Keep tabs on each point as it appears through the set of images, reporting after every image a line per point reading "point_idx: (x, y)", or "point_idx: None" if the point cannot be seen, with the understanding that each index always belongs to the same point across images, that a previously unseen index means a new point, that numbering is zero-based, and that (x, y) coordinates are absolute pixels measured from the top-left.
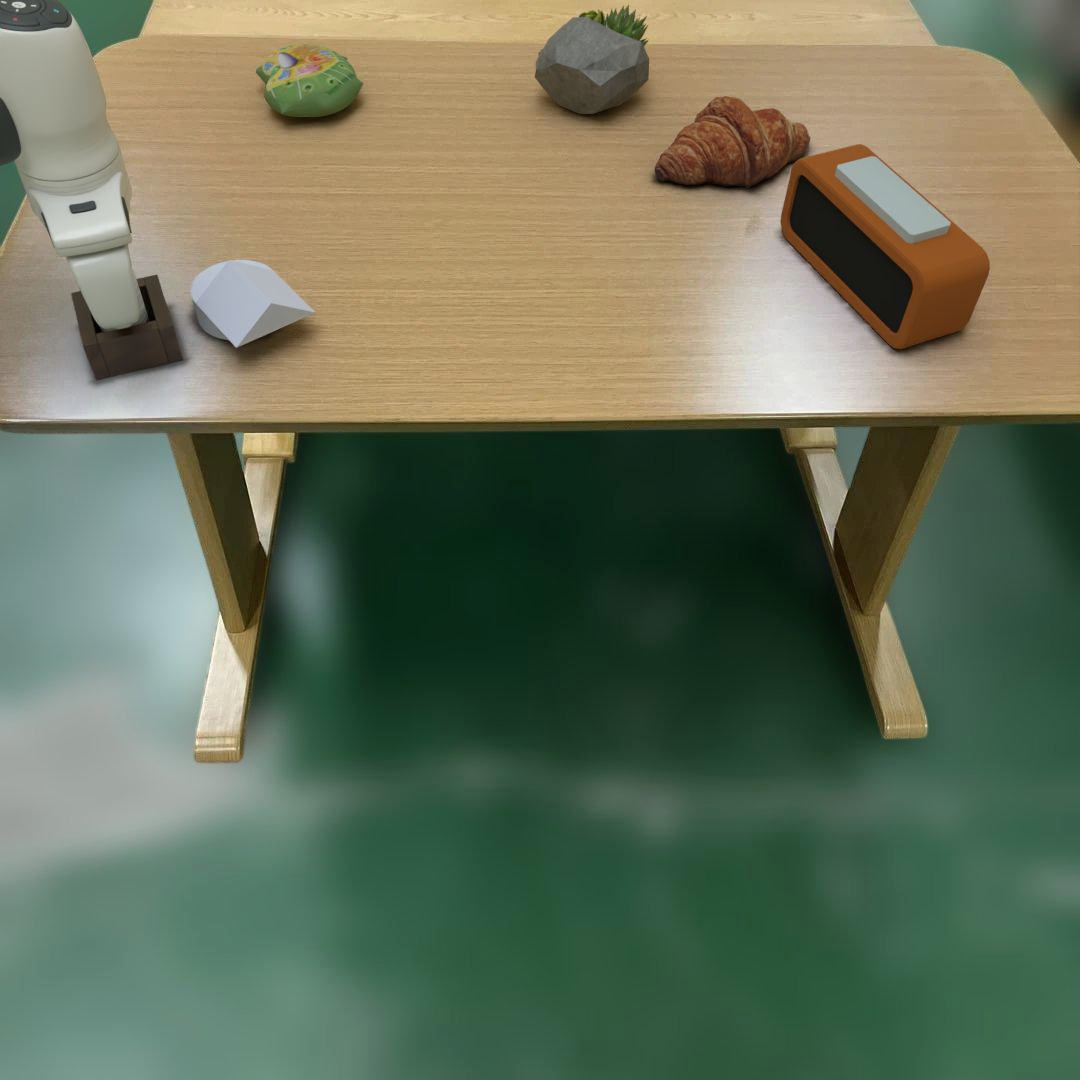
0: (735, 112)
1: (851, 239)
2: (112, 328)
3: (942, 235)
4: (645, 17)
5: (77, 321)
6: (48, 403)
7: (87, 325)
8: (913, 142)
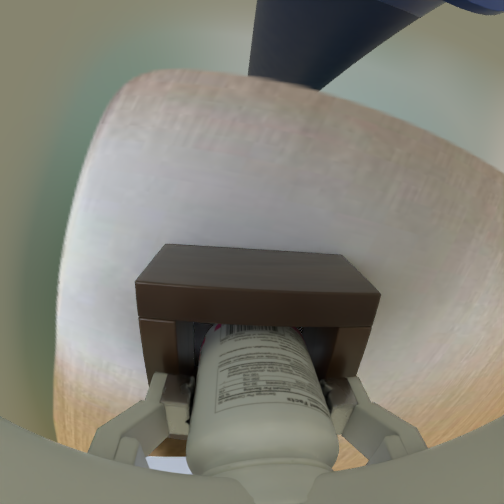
0: None
1: None
2: (206, 349)
3: None
4: None
5: (250, 289)
6: (135, 141)
7: (218, 310)
8: None
